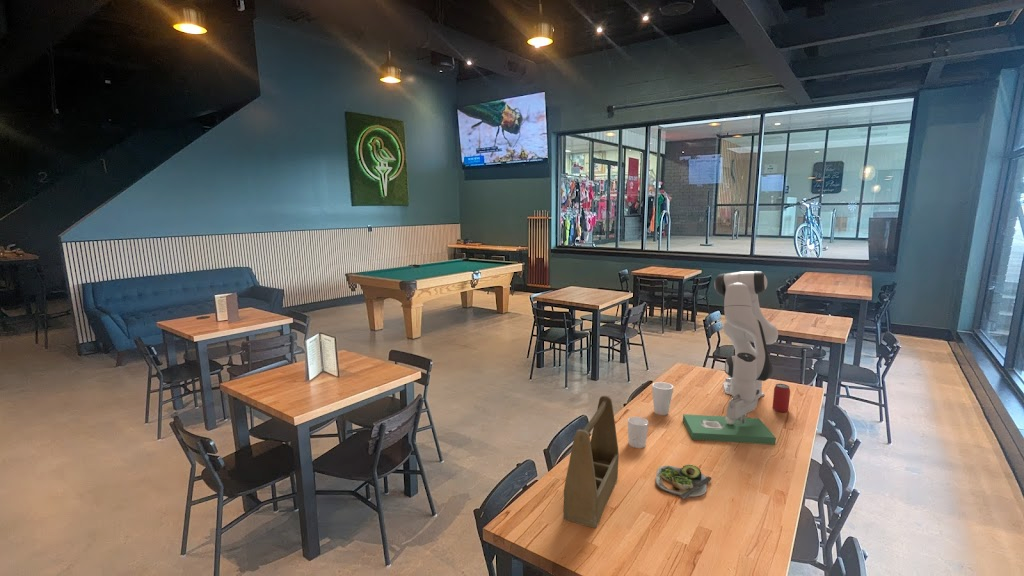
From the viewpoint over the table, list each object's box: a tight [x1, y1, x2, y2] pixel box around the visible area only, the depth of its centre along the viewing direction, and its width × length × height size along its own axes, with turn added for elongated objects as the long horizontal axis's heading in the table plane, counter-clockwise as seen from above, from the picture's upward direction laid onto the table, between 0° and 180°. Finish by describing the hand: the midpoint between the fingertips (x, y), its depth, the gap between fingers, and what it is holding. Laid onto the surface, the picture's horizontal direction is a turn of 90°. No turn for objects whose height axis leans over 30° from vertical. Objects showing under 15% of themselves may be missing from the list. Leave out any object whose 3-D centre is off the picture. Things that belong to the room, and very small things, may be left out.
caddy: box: [562, 395, 620, 529], centre depth 152 cm, size 29×11×30 cm, turn 155°
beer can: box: [772, 383, 791, 413], centre depth 222 cm, size 7×7×12 cm
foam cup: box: [651, 381, 674, 416], centre depth 220 cm, size 10×9×13 cm
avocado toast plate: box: [655, 464, 712, 500], centre depth 161 cm, size 19×18×5 cm
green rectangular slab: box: [682, 413, 777, 445], centre depth 201 cm, size 18×32×3 cm, turn 82°
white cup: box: [627, 416, 649, 449], centre depth 190 cm, size 8×8×10 cm
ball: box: [725, 416, 736, 425], centre depth 201 cm, size 4×4×4 cm
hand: (740, 423), depth 199 cm, fingers closed
